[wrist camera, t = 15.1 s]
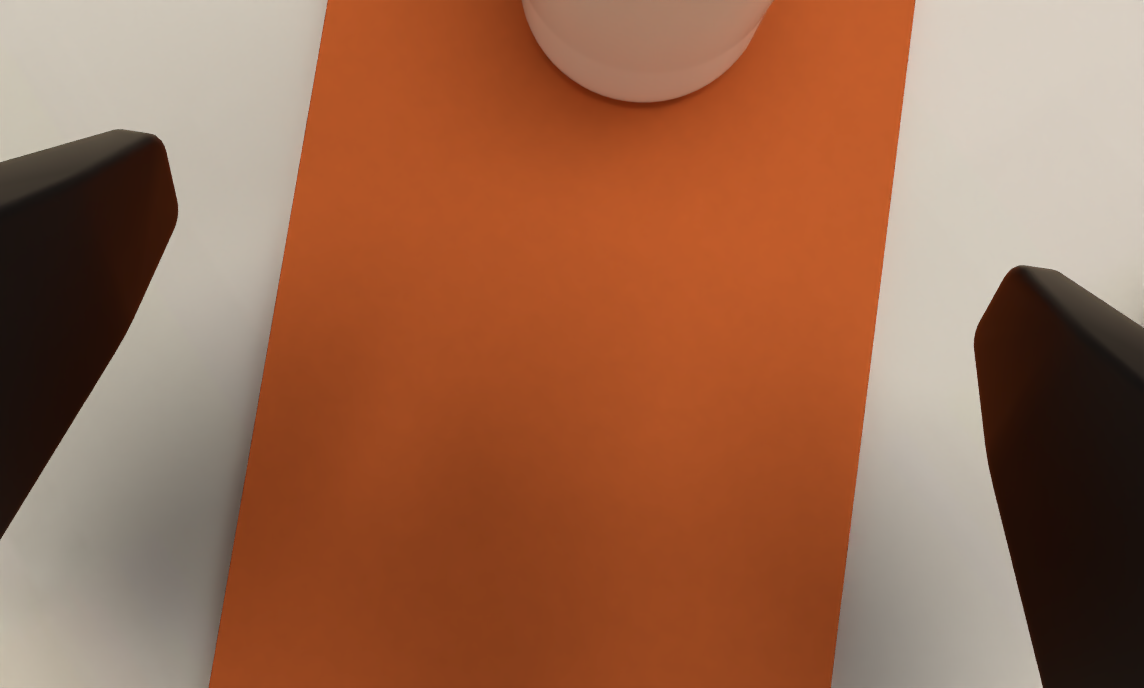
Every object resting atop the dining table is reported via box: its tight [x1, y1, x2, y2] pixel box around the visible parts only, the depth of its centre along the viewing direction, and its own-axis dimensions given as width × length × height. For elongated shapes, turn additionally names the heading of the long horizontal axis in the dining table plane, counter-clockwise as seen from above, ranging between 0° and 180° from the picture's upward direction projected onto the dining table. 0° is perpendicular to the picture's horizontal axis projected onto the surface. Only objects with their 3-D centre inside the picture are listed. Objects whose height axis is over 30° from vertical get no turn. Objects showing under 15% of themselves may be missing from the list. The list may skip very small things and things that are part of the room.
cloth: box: [209, 0, 915, 688], centre depth 19 cm, size 22×13×1 cm, turn 172°
